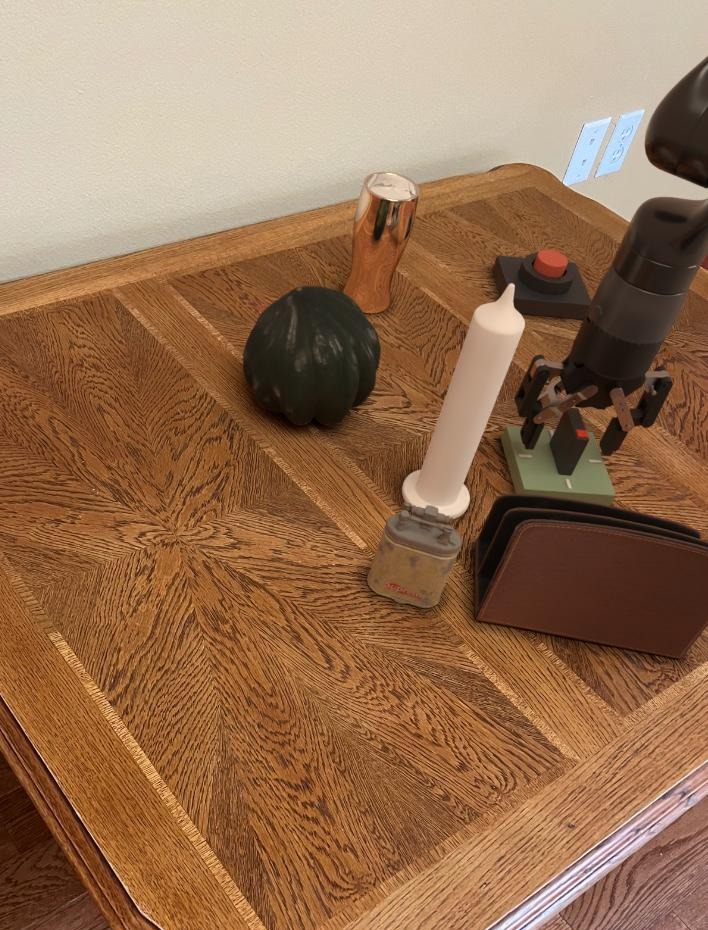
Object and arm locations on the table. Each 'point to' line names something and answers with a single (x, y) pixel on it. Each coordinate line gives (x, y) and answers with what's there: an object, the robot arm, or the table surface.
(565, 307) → the button housing
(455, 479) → the candle
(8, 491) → the table surface
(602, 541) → the letter holder
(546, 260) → the red button
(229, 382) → the table surface
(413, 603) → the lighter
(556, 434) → the dial
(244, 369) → the squash
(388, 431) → the table surface
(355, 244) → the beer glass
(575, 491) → the dial panel
